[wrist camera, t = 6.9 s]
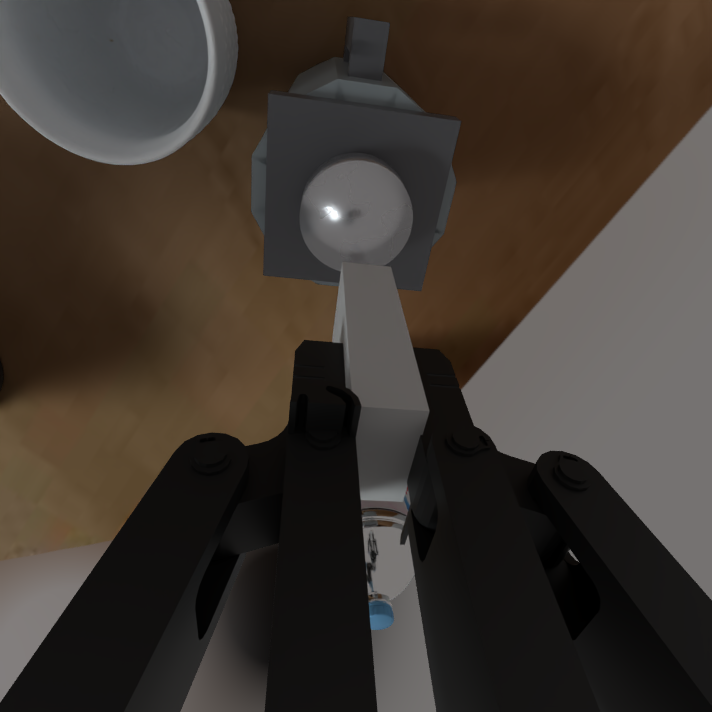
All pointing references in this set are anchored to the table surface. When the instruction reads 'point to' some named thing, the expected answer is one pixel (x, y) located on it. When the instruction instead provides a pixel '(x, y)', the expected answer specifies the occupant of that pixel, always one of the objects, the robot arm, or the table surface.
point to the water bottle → (385, 556)
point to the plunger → (355, 211)
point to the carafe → (351, 135)
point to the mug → (117, 72)
